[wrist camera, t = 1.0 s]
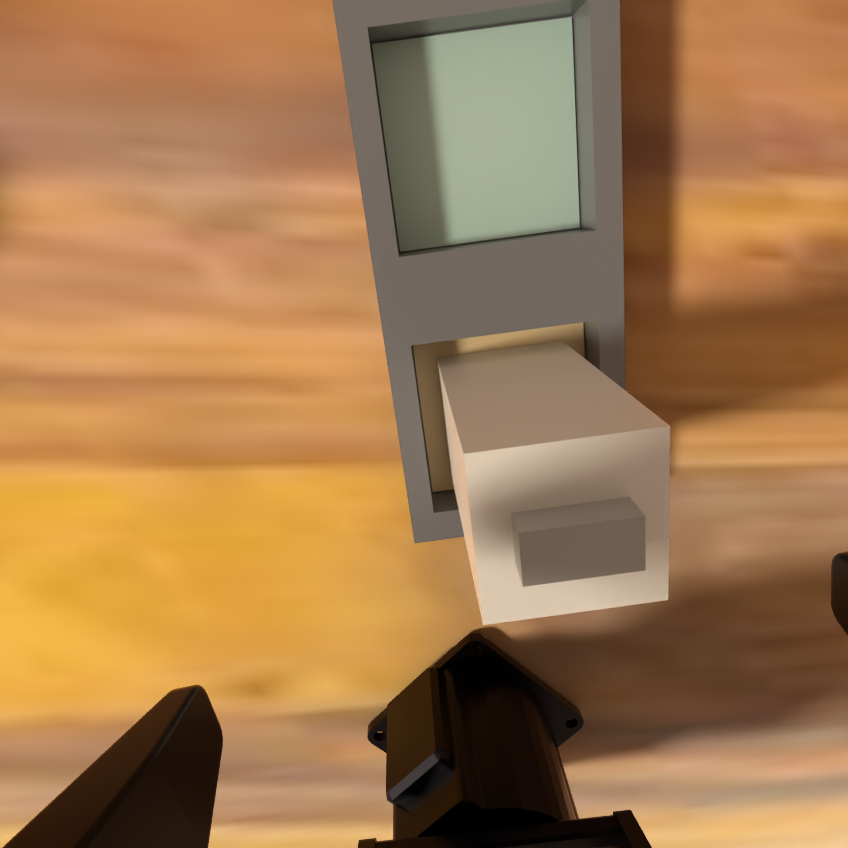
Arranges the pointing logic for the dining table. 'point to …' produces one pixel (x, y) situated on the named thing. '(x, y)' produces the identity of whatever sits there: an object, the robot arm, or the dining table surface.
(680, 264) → the dining table surface
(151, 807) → the robot arm
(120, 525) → the dining table surface
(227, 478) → the dining table surface
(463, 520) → the plug
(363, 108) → the socket panel
